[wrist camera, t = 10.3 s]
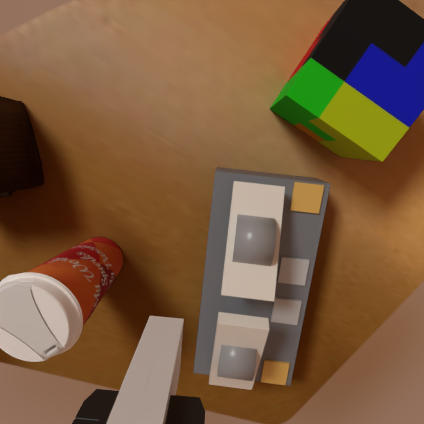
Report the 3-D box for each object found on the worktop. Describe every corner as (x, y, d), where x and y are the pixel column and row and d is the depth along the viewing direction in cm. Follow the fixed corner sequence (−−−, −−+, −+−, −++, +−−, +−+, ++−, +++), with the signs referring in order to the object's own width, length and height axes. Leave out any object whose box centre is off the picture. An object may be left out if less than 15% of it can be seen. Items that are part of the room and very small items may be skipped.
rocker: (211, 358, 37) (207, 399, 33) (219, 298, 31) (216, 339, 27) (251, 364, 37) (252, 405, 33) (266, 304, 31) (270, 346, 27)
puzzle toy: (397, 79, 33) (468, 52, 23) (339, 156, 35) (382, 161, 25) (323, 26, 32) (365, -25, 22) (269, 109, 34) (286, 95, 24)
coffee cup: (144, 265, 39) (94, 337, 25) (98, 297, 41) (26, 382, 26) (103, 214, 38) (25, 259, 23) (57, 249, 39) (-43, 312, 25)
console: (197, 345, 42) (192, 376, 36) (217, 167, 36) (215, 171, 30) (283, 356, 41) (291, 389, 36) (316, 178, 35) (332, 184, 30)
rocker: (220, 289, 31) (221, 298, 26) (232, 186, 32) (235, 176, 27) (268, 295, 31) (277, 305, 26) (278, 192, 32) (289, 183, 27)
